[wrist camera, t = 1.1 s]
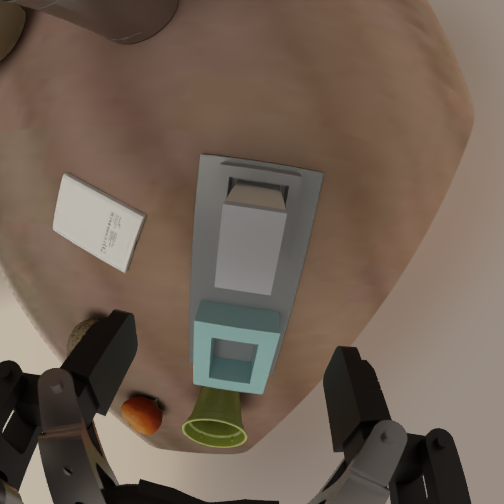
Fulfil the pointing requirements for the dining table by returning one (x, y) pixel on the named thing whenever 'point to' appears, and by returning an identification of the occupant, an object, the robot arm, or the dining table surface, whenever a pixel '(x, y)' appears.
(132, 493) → the robot arm
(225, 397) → the plant pot
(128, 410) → the fruit
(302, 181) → the panel
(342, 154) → the dining table surface
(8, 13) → the planter bowl
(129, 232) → the external hard drive
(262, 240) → the plug
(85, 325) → the decorative egg
